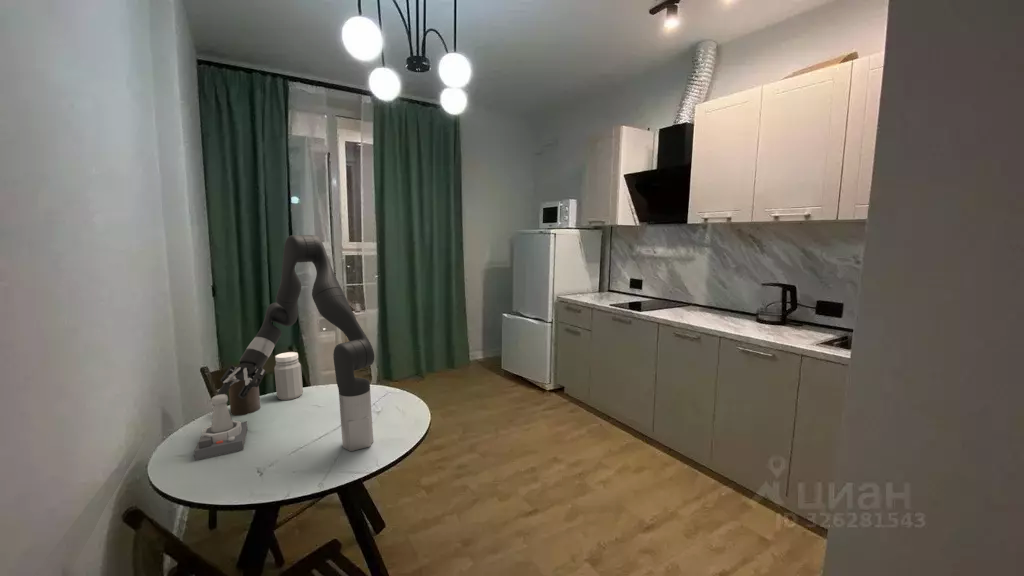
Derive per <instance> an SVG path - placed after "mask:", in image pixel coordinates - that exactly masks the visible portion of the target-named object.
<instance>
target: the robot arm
mask: <svg viewBox="0 0 1024 576" xmlns="http://www.w3.org/2000/svg"><path fill="white" fill-rule="evenodd" d="M282 253H283V254H282V263H281V276H280V281H279V282H280V284H279V286H278V289H277V293H276V295H275V302H272V303H270V304H269V305H268V306H267V307H266V311H265V316H264V319H263V322H262V324H261V327H260V328H259V331H258V332H257V333H256V335H255V336H254V338H253V339H252V341H251V342H250V343H249V344H248V346H247V347H246V349H245V351H244V352H243V354H242V355H241V357H240V358H239V365H237V366H234V365H233V364H231V365H229V367H228V368H227V370H226V371H225V372H224V374H223V375H222V377H220V382H221V383H223V384H222V386H221V387H220V389H219V390H218V392H217V395H221V394H225V395H227V393H228V392H229V388H230V386H231V385H232V384H234V383H235V382H238V381H243V380H244V381H245V385H246V386H243V388H242V390H241V391H240V393H239V395H238V397H239V398H241V399H244V398H245V397H246V396H247V394H248V393H249V391H250V389H252V388H253V387H258V386H259V387H260V384H261V382H262V381H263V379H264V377H265V375H266V370H265V369H264V366H265V364H266V363H267V361H268V359H269V358H270V356H271V354H272V352H273V350H274V348H275V346H276V345H277V343H278V341H279V340H280V338H281V336H282V334H283V333H282V330H281V329H280V328H278V327H277V326H276V325H274V324H273V323H277V324H279V325H282V326H284V327H291V326H293V325H294V324H296V322H297V320H298V316H299V310H298V309H299V307H298V301H299V297H300V295H301V290H302V282H301V280H300V278H299V276H298V274H297V272H296V266H297V264H298V263H312V264H313V265H314V267H315V268H314V269H315V270H316V275H315V279H314V283H313V286H312V289H311V297H312V300H313V303H314V305H315V306H316V309H317V310H318V313H319V314H320V315H321V317H323V318H324V319H325V320H326V321H328V322H329V323H330V324H332V325H334V326H335V327H336V328H337V329H339V330H340V331H341V332H342V333H343V334H344V335H345V337H346V338H347V339H348V341H345V342H341V343H338V344H337V345H335V347H334V349H333V353H332V356H333V366H334V372H335V381H336V384H337V389H338V400H339V412H340V429H341V440H342V441H341V445H342V448H343V449H345V450H347V451H349V452H353V451H357V450H362V449H366V448H369V447H371V446H372V444H373V442H374V430H373V429H374V428H373V415H372V412H373V411H372V399H371V397H372V396H371V383H370V380H368V379H367V378H364V377H355V371H358V370H362V369H365V368H368V367H370V366H372V365H373V363H374V362H375V352H374V349H373V346H372V343H371V342H370V340H369V338H368V337H367V335H366V333H365V332H364V329H362V326H361V325H360V323H359V322H358V320H357V318H356V316H355V314H354V313H353V311H352V309H351V306H350V304H349V302H348V300H347V297H346V295H345V293H344V291H343V289H342V287H341V285H340V283H339V281H338V279H337V277H336V275H335V273H334V270H333V268H332V266H331V262H330V260H329V257H328V253H327V251H326V248H325V246H324V242H323V241H322V240H321V238H320V237H319V236H318V235H314V234H295V235H289V236H288V237H287V238H286V239H285V242H284V247H283V252H282ZM234 376H235V377H236V378H235V377H234ZM230 380H232V381H231V382H229V381H230ZM256 380H257V382H256Z"/></svg>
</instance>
